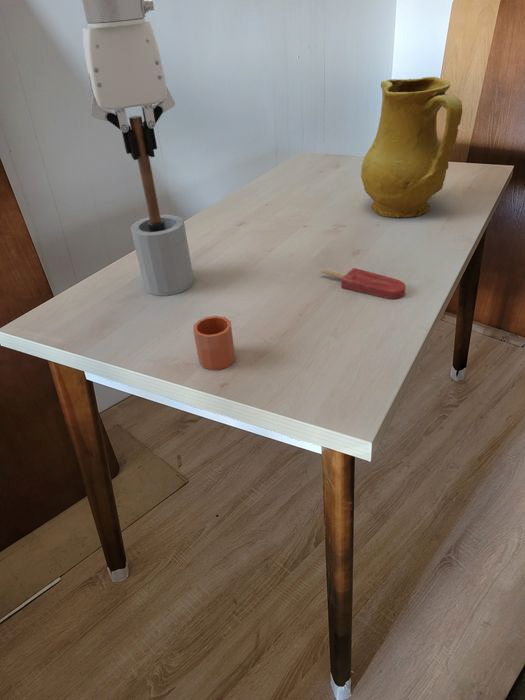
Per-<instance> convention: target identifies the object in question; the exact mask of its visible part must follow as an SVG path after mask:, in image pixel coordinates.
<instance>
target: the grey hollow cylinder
mask: <svg viewBox="0 0 525 700" xmlns="http://www.w3.org/2000/svg"><path fill="white" fill-rule="evenodd" d="M160 216H161V219H162V220H164V224H165V230H163V231H158V232H150V231H149V226H148V222H149V221H150V219H149V216H147V217H143V218H141V219H139V220H137V221H136V222H134V223H133V224H132V225H131V227H130V231H131V236H132V241H133V245H134V249H135V252H136V253H135V254H136V257H137V262H138V267H139V270H140V274H141V275H140V276H141V279H142V283H143V287H144V289H145V291H146V292H147V293H148V294H150V295H153V296H159V297H165V296H166V297H167V296H173V295H176V294H180V293H182V292H185V291H186V290H188V289H190V288H191V287H192V286H193V284H194V273H193V272H194V271H193V266H192V261H191V255H190V250H189V243H188V236H187V232H186V225H185V221H184V219H183V218H182V217H180V216H178V215H174V214H160Z"/></svg>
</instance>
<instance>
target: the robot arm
mask: <svg viewBox="0 0 525 700" xmlns="http://www.w3.org/2000/svg"><path fill="white" fill-rule="evenodd" d="M81 3H82V7H83V12H84V15H85V20H86V24H87V27H83V28H82V44H83V52H84V58H85V63H86V69H87V75H88V79H89V84H90V89H91V92H92V93H91V94H92V96H91V104H90V105H91V106H90V116H91V117H92V118H94V119H97V120H102V121H105V122H109V123H110V124H112V125H113V126H115V127H116V129H118V130H119V131H121V135H122V140H123V143H124V149H125V153H126V154H127V155H130V156H131V158H132V159H133V161H138V160H137V159H138V158H139V157H138V152H137V147H136V142H135V138H134V133H133V131H132V130H131V125H130V124H129V122H128V121H129V120H128V118H127V112H126V109H130V108H137V107H141V112H142V119H143V121H142V122H143V127H144V134H145V139H146V144H147V149H148V154H149V157H150V158H155V150H157V149H158V145H157V139H156V133H155V129H154V128H155V127H156V124H157V123H158V121H159V120H160V118H161V116H162V115H163V114H164V113H166V112H167V111H168V110H171V109H172V108H174V107H175V105H176V102H175V100H174V98H173V96H172V94H171V92H170V91H169V89H168V87H167V81H166V77H165V72H164V68H163V64H162V59H161V55H160V50H159V47H158V42H157V39H156V36H155V33H154V30H153V27H152V25H151V22H150V21H146V14H147V13H149V12H151V11H154V10H155V7H154V6H155V5H154V0H81ZM113 110H114V112H112V111H113Z"/></svg>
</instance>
